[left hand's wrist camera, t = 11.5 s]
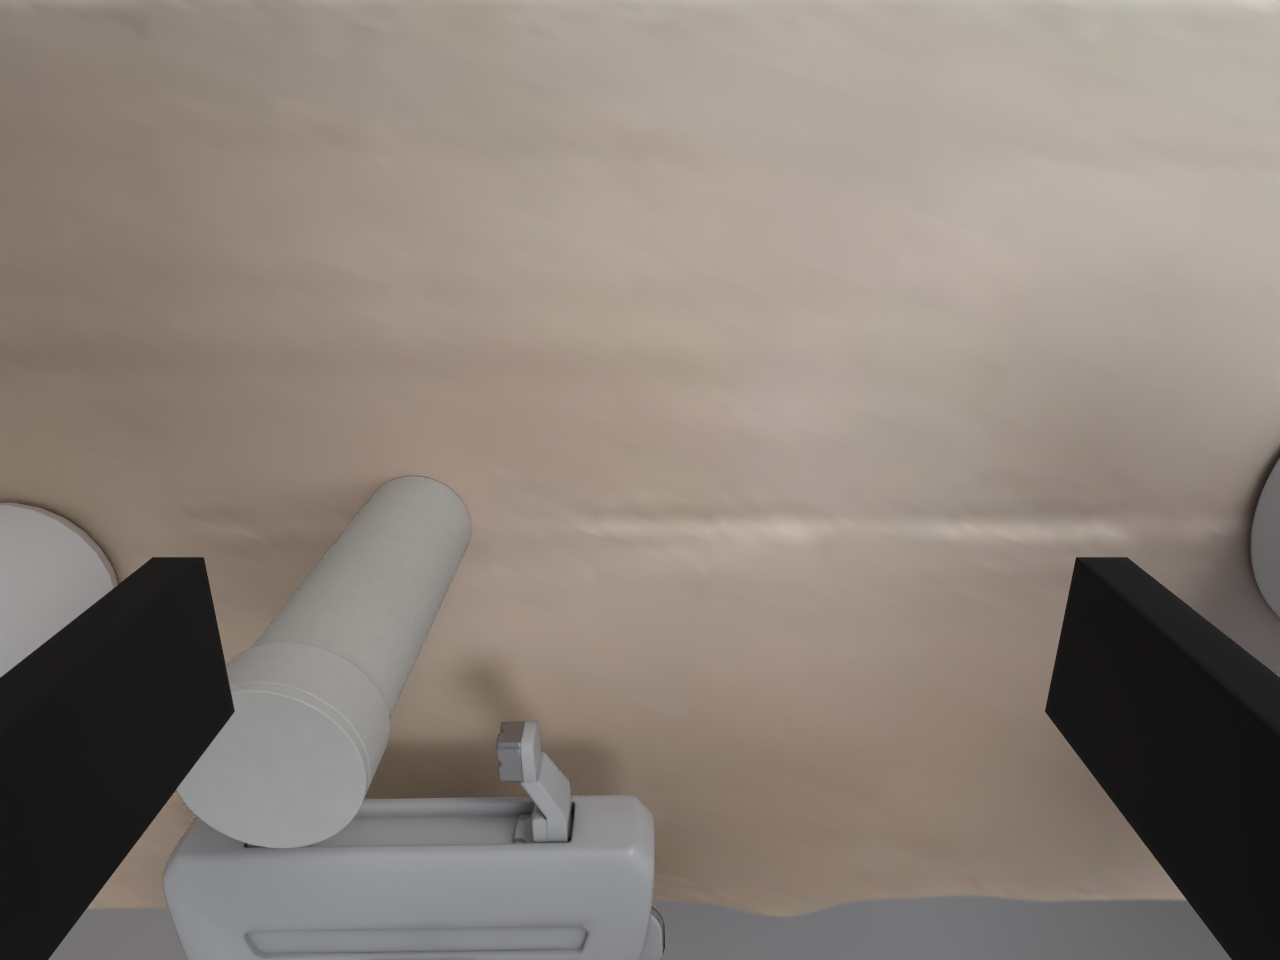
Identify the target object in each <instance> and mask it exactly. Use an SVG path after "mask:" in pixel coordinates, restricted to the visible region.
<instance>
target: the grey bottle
mask: <svg viewBox="0 0 1280 960" xmlns="http://www.w3.org/2000/svg"><path fill="white" fill-rule="evenodd" d="M470 534H471V524H470V519H469V515H468V512H467V510H466V508H465V506H464V504H463V503H462V501H461V500H460V499H459V497H458V496H457V495H456V494H455V493H454V492H453V491H452V490H450V489H449V488H448V487H446V486H445V485H443V484H441V483H439V482H437V481H435V480H432V479H429V478H424V477H417V476H408V477H401V478H397V479H394V480H392V481H389V482H387V483H386V484H384V485H383V486H381V487H380V488H379V489H378V490H377V491H376V492H375V493H374V494H373V495H372V497H371V498H370V499H369V500H368V502H367V503H366V504H365V505H364V507H363V508H362V509H361V510H360V512H359V513H358V514H357V515H356V517H355V518H354V519H353V520H352V522H351V523H350V524H349V525H348V527H347V528H346V529H345V531H344V532H343V533H342V534H341V536H340V537H339V538H338V539H337V541H336V542H335V543H334V544H333V546H332V547H331V548H330V549H329V551H328V552H327V553H326V554H325V556H324V557H323V558H322V559H321V561H320V562H319V563H318V564H317V566H316V567H315V568H314V569H313V571H312V572H311V573H310V574H309V576H308V577H307V578H306V579H305V581H304V582H303V583H302V584H301V586H300V587H299V588H298V589H297V591H296V592H295V593H294V594H293V596H292V597H291V598H290V599H289V601H288V602H287V603H286V604H285V606H284V607H283V608H282V609H281V611H280V612H279V613H278V614H277V616H276V617H275V618H274V619H273V621H272V622H271V623H270V625H269V626H268V627H267V628H266V630H265V631H264V632H263V633H262V635H261V636H260V637H259V638H258V640H257V641H256V642H255V643H254V645H253V646H252V647H251V648H254V647H258V646H261V645H264V644H270V643H277V642H296V643H304V644H310V645H314V646H318V647H321V648H324V649H327V650H330V651H332V652H334V653H336V654H338V655H340V656H342V657H344V658H346V659H347V660H349V661H350V662H352V663H353V664H355V665H356V666H357V667H358V668H360V669H361V670H362V671H363V672H364V673H365V674H366V675H367V676H368V677H369V678H370V679H371V680H372V681H373V683H374V684H375V686H376V687H377V689H378V690H379V692H380V694H381V695H382V697H383V699H384V702H385V705H386V707H387V711H388V716H389V719H390V717H391V715H392V712H393V710H394V708H395V706H396V703H397V701H398V699H399V697H400V695H401V692H402V690H403V688H404V686H405V683H406V681H407V679H408V677H409V675H410V672H411V670H412V668H413V666H414V663H415V661H416V659H417V657H418V654H419V652H420V650H421V648H422V646H423V643H424V641H425V639H426V637H427V634H428V632H429V630H430V628H431V626H432V623H433V621H434V619H435V617H436V614H437V612H438V610H439V608H440V606H441V603H442V601H443V599H444V597H445V594H446V592H447V590H448V588H449V585H450V583H451V581H452V579H453V577H454V574H455V572H456V570H457V568H458V565H459V563H460V561H461V559H462V557H463V554H464V552H465V550H466V548H467V545H468V543H469V539H470ZM251 648H250V649H251Z"/></svg>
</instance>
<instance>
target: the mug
mask: <svg viewBox="0 0 1280 960" xmlns="http://www.w3.org/2000/svg"><path fill="white" fill-rule="evenodd" d="M117 585H118V582H117V579H116V575H115V572H114V569H113V567H112V565H111V564H110V562H109V561H108V559H107V557H106V556H105V554H104V552H103V551H102V549H101V548H100V547H99V546H98V545H97V544H96V543H95V542H94V541H93V540H92V539H91V538H90V537H89V536H88V535H87V534H86V532H84V531H83V530H81V529H80V528H78V527H77V526H76V525H74V524H73V523H71V522H70V521H68V520H67V519H65V518H64V517H61V516H59V515H57V514H54V513H52V512H50V511H47V510H45V509H43V508H39V507H34V506H29V505H24V504H19V503H0V677H2V676H3V675H4V674H6V673H7V672H8V671H9V670H11V669H12V668H13V667H14V666H16V665H17V664H18V663H20V662H21V661H22V660H23V659H25V658H26V657H27V656H28V655H30V654H31V653H32V652H33V651H35V650H36V649H37V648H39V647H40V646H41V645H42V644H44V643H45V642H46V641H47V640H49V639H50V638H51V637H53V636H54V635H55V634H56V633H58V632H59V631H60V630H61V629H63V628H64V627H65V626H66V625H68V624H69V623H70V622H72V621H73V620H74V619H75V618H77V617H78V616H79V615H80V614H82V613H83V612H84V611H86V610H87V609H88V608H89V607H91V606H92V605H93V604H94V603H96V602H97V601H98V600H100V599H101V598H102V597H103V596H105V595H106V594H107V593H108V592H110V591H111V590H112V589H113V588H115V587H116V586H117Z"/></svg>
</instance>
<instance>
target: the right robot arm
mask: <svg viewBox="0 0 1280 960" xmlns="http://www.w3.org/2000/svg"><path fill="white" fill-rule="evenodd" d="M1250 544H1251V561H1252V567H1253V572H1254V576H1255V579H1256V582H1257V585H1258V587H1259V589H1260V592H1261V594H1262V595H1263V597H1264V599H1265V601H1266V602H1267V604H1268V605H1269V606H1270V608H1271V609H1272V610H1273V611H1274V612H1275V614H1276V615H1277V616H1278V617H1279V618H1280V458H1279V460H1278V461H1277V463H1276V464H1275V466H1274V468H1273V470H1272V471H1271V473H1270V475H1269V477H1268V479H1267V481H1266V483H1265V486H1264V488H1263V490H1262V493H1261V495H1260V498H1259V501H1258V504H1257V507H1256V510H1255V515H1254V519H1253V524H1252V531H1251V543H1250ZM500 730H501V733H500V734H499V735H498V738H497V751H496V753H497V760H498V761H499V767H498V772H499V781H500V782H520V784H521V785H522V787H523V788H524V789H525V791H526V792H527V793H528V794H529V796H512V797H451V798H390V799H364V800H363V803H362V805H361V807H360V809H359V811H358V813H357V814H356V815H355V817H354V818H353V820H352V821H351V822H350V823H349V824H348V825H347V826H346V827H345V828H343V829H342V830H341V831H339V832H338V833H337V834H335V835H333V836H331V837H330V838H328V839H326V840H323V841H321V842H318V843H315V844H311V845H308V846H303V847H296V848H268V847H262V846H256V845H252V844H248V843H244V842H242V841H239V840H236V839H233V838H231V837H229V836H227V835H225V834H223V833H221V832H219V831H217V830H216V829H214V828H212V827H211V826H209V825H208V824H207V823H205V822H204V821H202V820H201V819H200V818H199V817H197V818H196V819H195V820H194V822H193V823H192V824H191V825H190V827H189V828H188V829H187V831H186V832H185V833H184V835H183V836H182V838H181V839H180V841H179V842H178V844H177V846H176V847H175V849H174V850H173V852H172V854H171V855H170V857H169V859H168V861H167V863H166V866H165V869H164V872H163V879H162V881H163V890H164V894H165V898H166V902H167V905H168V908H169V912H170V915H171V918H172V921H173V924H174V926H175V929H176V932H177V935H178V937H179V940H180V942H181V945H182V947H183V950H184V952H185V954H186V956H187V959H188V960H661V958H662V955H663V952H664V948H665V934H664V921H663V918H662V916H661V914H660V912H659V911H658V909H657V908H656V907H655V906H654V905H653V904H652V903H653V892H654V867H655V834H654V816H653V813H652V812H651V811H650V810H649V809H648V808H647V807H646V806H645V805H644V804H643V803H642V802H641V801H640V800H639V799H638V798H637V797H635V796H633V795H575V796H571V789H570V781H569V780H568V779H567V777H566V776H565V775H564V774H563V773H562V772H561V771H560V769H559V768H558V767H557V766H556V765H555V764H554V763H553V761H552V760H551V759H550V758H549V757H548V756H547V755H546V753H545V752H541V743H540V732H539V723H538V721H522V722H502V723H501V726H500Z"/></svg>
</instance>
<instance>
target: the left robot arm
mask: <svg viewBox="0 0 1280 960" xmlns="http://www.w3.org/2000/svg"><path fill="white" fill-rule="evenodd" d="M234 712H235V710H234V705H233V700H232V695H231V690H230V685H229V680H228V675H227V670H226V665H225V660H224V655H223V650H222V645H221V640H220V635H219V630H218V625H217V620H216V615H215V610H214V605H213V600H212V596H211V591H210V586H209V581H208V576H207V571H206V566H205V561H204V557H153V558H152V559H150V560H149V561H148V562H147V563H145V564H144V565H143V566H141V567H140V568H139V569H138V570H136V571H135V572H134V573H133V574H131V575H130V576H129V577H127V578H126V579H125V580H124V581H122V582H121V583H120V584H119V585H117V586H116V587H115V588H113V589H112V590H111V591H110V592H108V593H107V594H106V595H105V596H103V597H102V598H101V599H100V600H98V601H97V602H96V603H94V604H93V605H92V606H91V607H89V608H88V609H87V610H86V611H84V612H83V613H82V614H80V615H79V616H78V617H77V618H75V619H74V620H73V621H72V622H70V623H69V624H68V625H66V626H65V627H64V628H63V629H61V630H60V631H59V632H58V633H56V634H55V635H54V636H53V637H51V638H50V639H49V640H47V641H46V642H45V643H44V644H42V645H41V646H40V647H39V648H37V649H36V650H35V651H33V652H32V653H31V654H30V655H28V656H27V657H26V658H25V659H23V660H22V661H21V662H20V663H18V664H17V665H16V666H14V667H13V668H12V669H11V670H9V671H8V672H7V673H6V674H4V675H3V676H2V677H0V960H48V959H49V958H50V956H51V955H52V954H53V952H54V951H55V950H56V948H57V947H58V946H59V944H60V943H61V942H62V940H63V939H64V938H65V936H66V935H67V934H68V932H69V931H70V930H71V928H72V927H73V926H74V924H75V923H76V922H77V920H78V919H79V918H80V916H81V915H82V914H83V912H84V911H85V910H86V909H87V907H88V906H89V905H90V903H91V902H92V901H93V899H94V898H95V897H96V895H97V894H98V893H99V891H100V890H101V889H102V887H103V886H104V885H105V883H106V882H107V881H108V879H109V878H110V877H111V875H112V874H113V873H114V871H115V870H116V869H117V867H118V866H119V865H120V863H121V862H122V861H123V859H124V858H125V857H126V855H127V854H128V853H129V851H130V850H131V849H132V847H133V846H134V845H135V843H136V842H137V841H138V840H139V838H140V837H141V836H142V834H143V833H144V832H145V830H146V829H147V828H148V826H149V825H150V824H151V822H152V821H153V820H154V818H155V817H156V816H157V814H158V813H159V812H160V810H161V809H162V808H163V806H164V805H165V804H166V802H167V801H168V800H169V798H170V797H171V796H172V794H173V793H174V792H175V790H176V789H177V788H178V786H179V785H180V784H181V782H182V781H183V780H184V778H185V777H186V776H187V774H188V773H189V772H190V771H191V769H192V768H193V767H194V765H195V764H196V763H197V761H198V760H199V759H200V757H201V756H202V755H203V753H204V752H205V751H206V749H207V748H208V747H209V745H210V744H211V743H212V741H213V740H214V739H215V737H216V736H217V735H218V733H219V732H220V731H221V729H222V728H223V727H224V725H225V724H226V723H227V721H228V720H229V719H230V717H231V716H232V715H233V713H234ZM1045 712H1046V713H1047V715H1048V716H1049V717H1050V719H1051V720H1052V721H1053V723H1054V724H1055V725H1056V727H1057V728H1058V729H1059V731H1060V732H1061V733H1062V735H1063V736H1064V737H1065V739H1066V740H1067V741H1068V743H1069V744H1070V745H1071V747H1072V748H1073V749H1074V751H1075V752H1076V753H1077V755H1078V756H1079V757H1080V759H1081V760H1082V761H1083V763H1084V764H1085V765H1086V767H1087V768H1088V769H1089V771H1090V772H1091V773H1092V774H1093V776H1094V777H1095V778H1096V780H1097V781H1098V782H1099V784H1100V785H1101V786H1102V788H1103V789H1104V790H1105V792H1106V793H1107V794H1108V796H1109V797H1110V798H1111V800H1112V801H1113V802H1114V804H1115V805H1116V806H1117V808H1118V809H1119V810H1120V812H1121V813H1122V814H1123V816H1124V817H1125V818H1126V820H1127V821H1128V822H1129V824H1130V825H1131V826H1132V828H1133V829H1134V830H1135V832H1136V833H1137V834H1138V836H1139V837H1140V838H1141V840H1142V841H1143V842H1144V843H1145V845H1146V846H1147V847H1148V849H1149V850H1150V851H1151V853H1152V854H1153V855H1154V857H1155V858H1156V859H1157V861H1158V862H1159V863H1160V865H1161V866H1162V867H1163V869H1164V870H1165V871H1166V873H1167V874H1168V875H1169V877H1170V878H1171V879H1172V881H1173V882H1174V883H1175V885H1176V886H1177V887H1178V889H1179V890H1180V891H1181V893H1182V894H1183V895H1184V897H1185V898H1186V899H1187V901H1188V902H1189V903H1190V905H1191V906H1192V907H1193V908H1194V910H1195V911H1196V913H1197V914H1198V915H1199V916H1200V918H1201V919H1202V920H1203V922H1204V923H1205V924H1206V926H1207V927H1208V928H1209V930H1210V931H1211V932H1212V934H1213V935H1214V936H1215V938H1216V939H1217V940H1218V942H1219V943H1220V944H1221V946H1222V947H1223V948H1224V950H1225V951H1226V952H1227V954H1228V955H1229V956H1230V958H1231V959H1232V960H1280V677H1278V676H1277V675H1276V674H1274V673H1273V672H1272V671H1271V670H1269V669H1268V668H1267V667H1266V666H1264V665H1263V664H1262V663H1260V662H1259V661H1258V660H1257V659H1255V658H1254V657H1253V656H1252V655H1250V654H1249V653H1248V652H1247V651H1245V650H1244V649H1243V648H1241V647H1240V646H1239V645H1238V644H1236V643H1235V642H1234V641H1233V640H1231V639H1230V638H1229V637H1227V636H1226V635H1225V634H1224V633H1222V632H1221V631H1220V630H1219V629H1217V628H1216V627H1215V626H1213V625H1212V624H1211V623H1210V622H1208V621H1207V620H1206V619H1205V618H1203V617H1202V616H1201V615H1200V614H1198V613H1197V612H1196V611H1194V610H1193V609H1192V608H1191V607H1189V606H1188V605H1187V604H1186V603H1184V602H1183V601H1182V600H1180V599H1179V598H1178V597H1177V596H1175V595H1174V594H1173V593H1172V592H1170V591H1169V590H1168V589H1167V588H1165V587H1164V586H1163V585H1161V584H1160V583H1159V582H1158V581H1156V580H1155V579H1154V578H1153V577H1151V576H1150V575H1149V574H1147V573H1146V572H1145V571H1144V570H1142V569H1141V568H1140V567H1139V566H1137V565H1136V564H1135V563H1133V562H1132V561H1131V560H1130V559H1128V558H1127V557H1076V561H1075V566H1074V571H1073V576H1072V581H1071V586H1070V591H1069V596H1068V600H1067V605H1066V610H1065V615H1064V620H1063V625H1062V630H1061V635H1060V640H1059V645H1058V650H1057V655H1056V660H1055V665H1054V670H1053V675H1052V680H1051V685H1050V690H1049V695H1048V700H1047V705H1046V710H1045Z"/></svg>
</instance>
